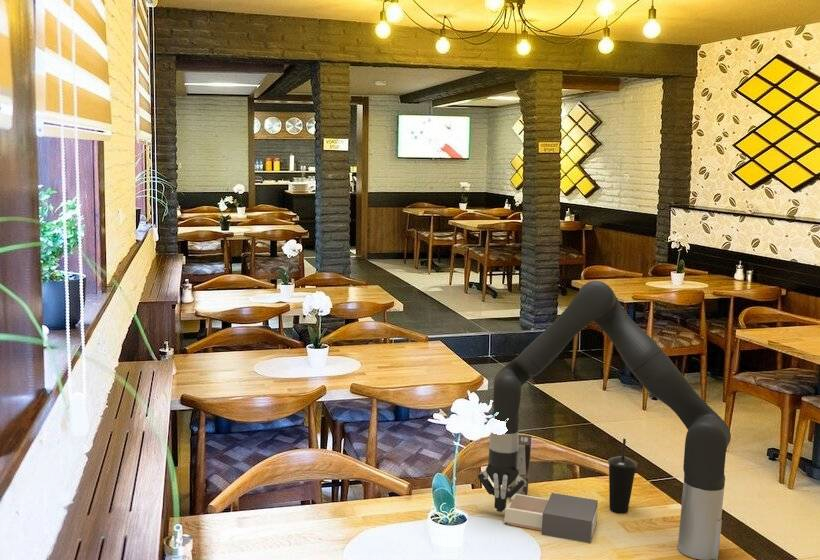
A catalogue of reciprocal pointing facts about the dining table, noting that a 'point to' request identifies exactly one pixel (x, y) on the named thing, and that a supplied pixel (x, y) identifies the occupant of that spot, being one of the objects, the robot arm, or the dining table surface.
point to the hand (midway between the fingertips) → (499, 510)
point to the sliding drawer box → (530, 512)
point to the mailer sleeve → (569, 517)
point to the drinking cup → (621, 481)
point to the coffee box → (523, 463)
